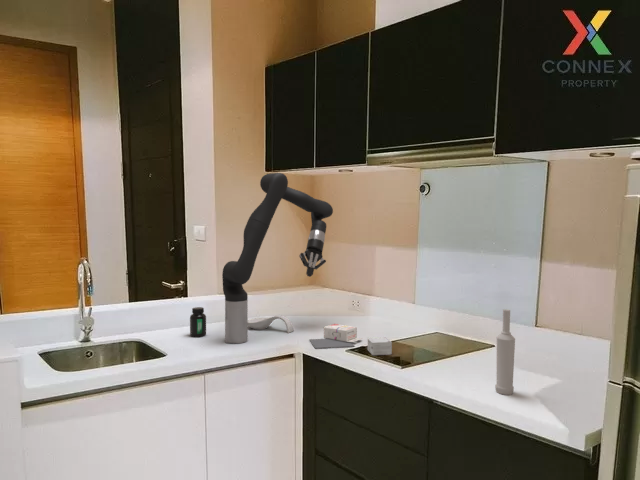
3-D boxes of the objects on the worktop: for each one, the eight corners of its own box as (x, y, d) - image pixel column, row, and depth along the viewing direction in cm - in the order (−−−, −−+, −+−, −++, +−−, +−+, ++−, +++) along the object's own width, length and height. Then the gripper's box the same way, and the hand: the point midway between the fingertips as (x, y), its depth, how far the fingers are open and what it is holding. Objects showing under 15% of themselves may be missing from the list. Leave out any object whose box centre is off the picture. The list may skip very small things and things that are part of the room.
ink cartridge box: (334, 323, 214) (363, 327, 205) (334, 334, 214) (363, 339, 205) (323, 326, 207) (352, 331, 198) (323, 338, 207) (352, 343, 199)
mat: (315, 349, 192) (315, 347, 192) (309, 340, 205) (309, 339, 205) (354, 347, 195) (354, 345, 195) (346, 338, 208) (346, 337, 208)
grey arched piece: (240, 329, 225) (240, 314, 224) (255, 324, 235) (255, 309, 235) (284, 335, 214) (284, 319, 214) (298, 330, 224) (298, 314, 224)
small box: (367, 350, 192) (367, 337, 192) (386, 349, 193) (386, 336, 193) (372, 355, 184) (372, 342, 184) (392, 355, 185) (392, 341, 185)
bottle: (510, 389, 149) (512, 308, 148) (516, 395, 144) (518, 311, 143) (493, 388, 150) (495, 307, 148) (498, 394, 145) (500, 311, 143)
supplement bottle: (203, 337, 208) (202, 309, 208) (187, 337, 209) (187, 309, 209) (208, 333, 215) (208, 306, 215) (193, 333, 216) (193, 306, 215)
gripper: (305, 234, 222) (297, 269, 214) (331, 242, 225) (325, 277, 217) (300, 240, 228) (293, 274, 221) (326, 248, 231) (320, 282, 223)
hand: (309, 275), depth 219 cm, fingers closed
